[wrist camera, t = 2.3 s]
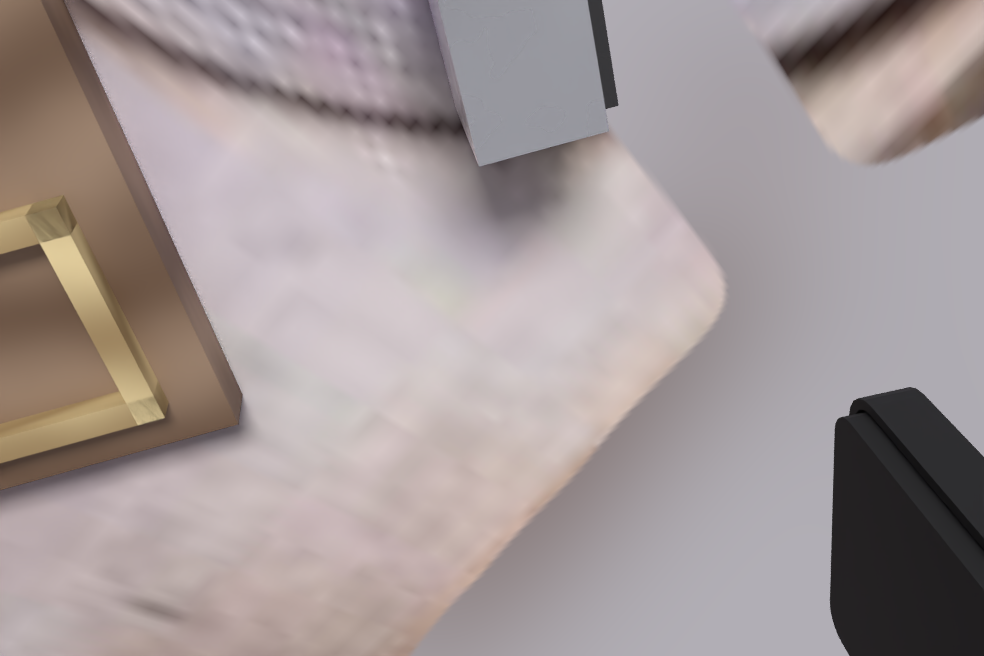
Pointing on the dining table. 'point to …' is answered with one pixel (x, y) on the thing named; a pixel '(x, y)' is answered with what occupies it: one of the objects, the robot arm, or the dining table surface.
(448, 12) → the grey thick square block
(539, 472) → the dining table surface
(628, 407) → the dining table surface
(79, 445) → the brown flat board
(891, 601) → the robot arm
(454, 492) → the dining table surface
